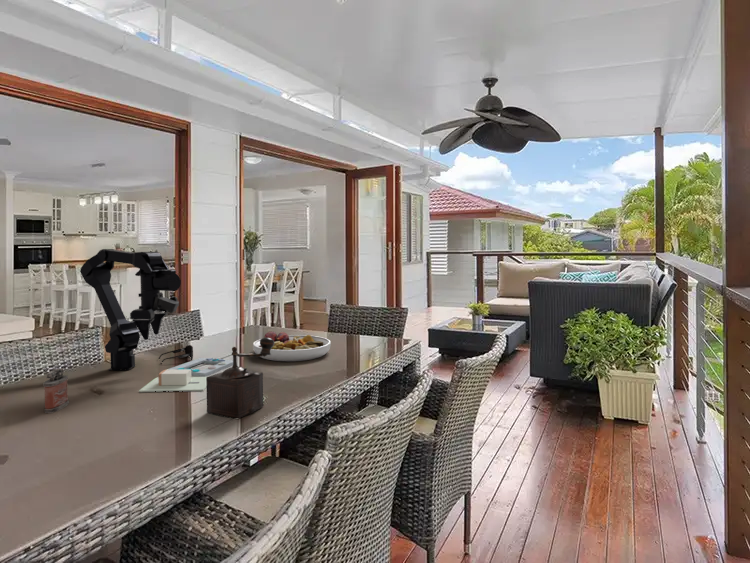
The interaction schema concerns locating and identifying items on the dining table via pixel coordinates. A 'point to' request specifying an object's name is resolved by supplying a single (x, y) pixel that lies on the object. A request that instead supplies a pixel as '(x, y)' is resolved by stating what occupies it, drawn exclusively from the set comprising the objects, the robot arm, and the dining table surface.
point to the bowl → (294, 347)
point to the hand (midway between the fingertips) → (151, 337)
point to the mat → (176, 386)
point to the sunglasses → (187, 350)
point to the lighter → (55, 391)
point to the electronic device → (208, 371)
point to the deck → (175, 377)
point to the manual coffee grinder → (237, 387)
